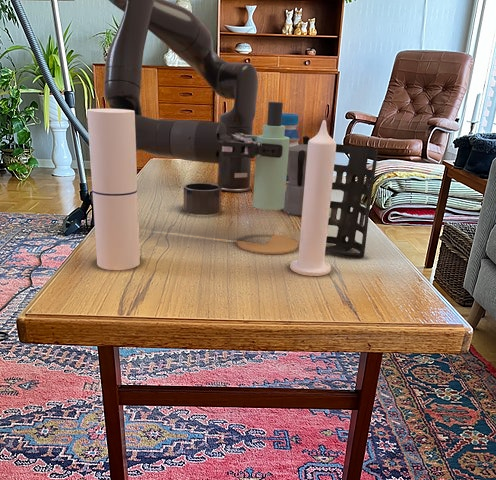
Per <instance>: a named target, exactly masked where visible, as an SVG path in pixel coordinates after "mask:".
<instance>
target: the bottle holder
mask: <svg viewBox="0 0 496 480" xmlns="http://www.w3.org/2000/svg"><path fill="white" fill-rule="evenodd" d="M182 190H183V192H182V197H183V200H182V201H183V202H182V203H183V204H182V205H183V207H182V208H183V211H184V212H185V213H188V214H190V215H199V216H208V215H209V216H210V215H215V214H219V213H221V211H222V188H221V186H219V185H217V184H215V183H209V182H192V183H191V182H190V183H186V184H184V185H183V189H182Z"/></svg>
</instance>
